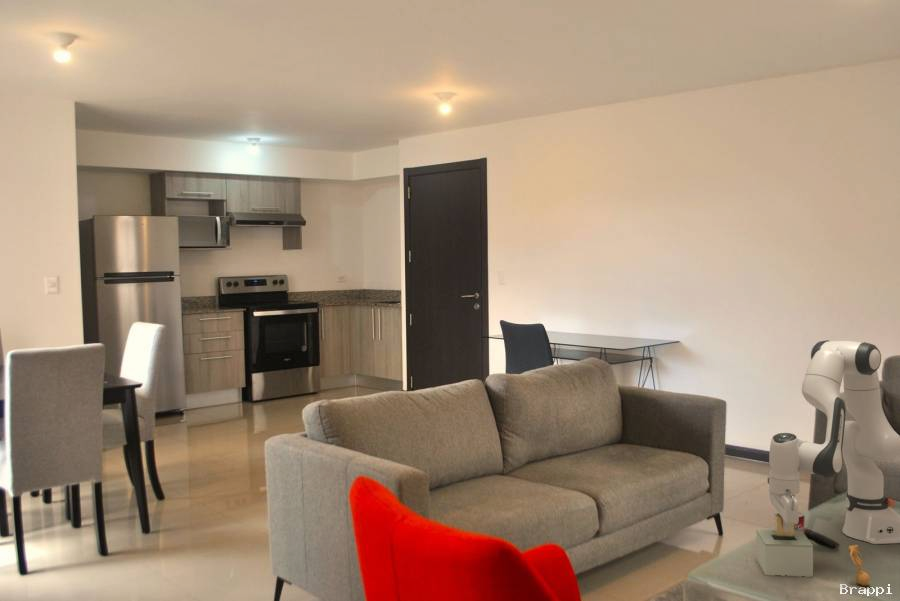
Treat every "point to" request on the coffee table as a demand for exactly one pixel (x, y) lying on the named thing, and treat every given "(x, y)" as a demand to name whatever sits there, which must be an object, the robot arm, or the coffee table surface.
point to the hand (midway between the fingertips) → (784, 528)
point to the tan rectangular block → (778, 527)
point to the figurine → (861, 576)
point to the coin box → (784, 554)
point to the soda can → (800, 523)
